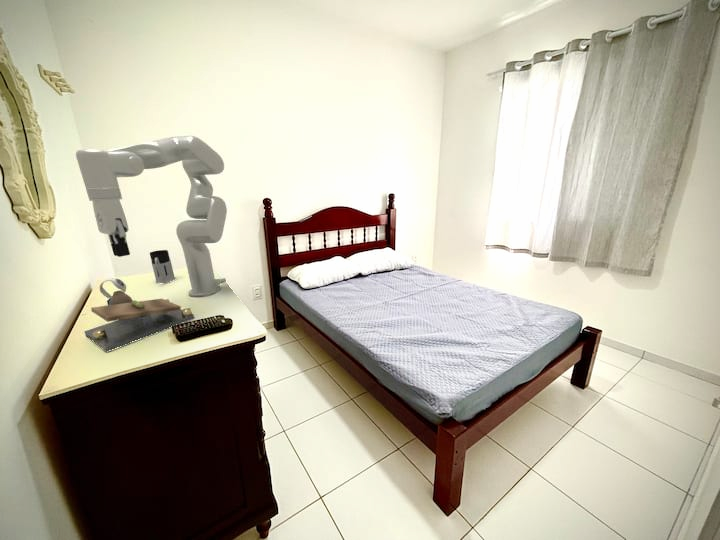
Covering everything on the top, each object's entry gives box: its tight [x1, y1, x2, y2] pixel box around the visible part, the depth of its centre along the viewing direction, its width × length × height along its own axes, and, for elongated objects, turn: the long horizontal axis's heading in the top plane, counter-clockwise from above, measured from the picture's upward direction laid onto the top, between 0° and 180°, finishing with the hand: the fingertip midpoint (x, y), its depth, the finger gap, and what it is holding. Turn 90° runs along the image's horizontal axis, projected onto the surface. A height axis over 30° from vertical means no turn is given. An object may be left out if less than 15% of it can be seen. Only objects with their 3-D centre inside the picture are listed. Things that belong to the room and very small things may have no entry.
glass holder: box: [149, 249, 177, 284], centre depth 139 cm, size 9×14×15 cm, turn 24°
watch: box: [99, 277, 127, 306], centre depth 115 cm, size 6×8×11 cm
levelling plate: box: [90, 298, 182, 323], centre depth 96 cm, size 20×14×3 cm
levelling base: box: [83, 298, 195, 352], centre depth 97 cm, size 25×19×6 cm
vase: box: [109, 289, 134, 305], centre depth 107 cm, size 7×7×9 cm
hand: (122, 254), depth 90 cm, fingers closed
